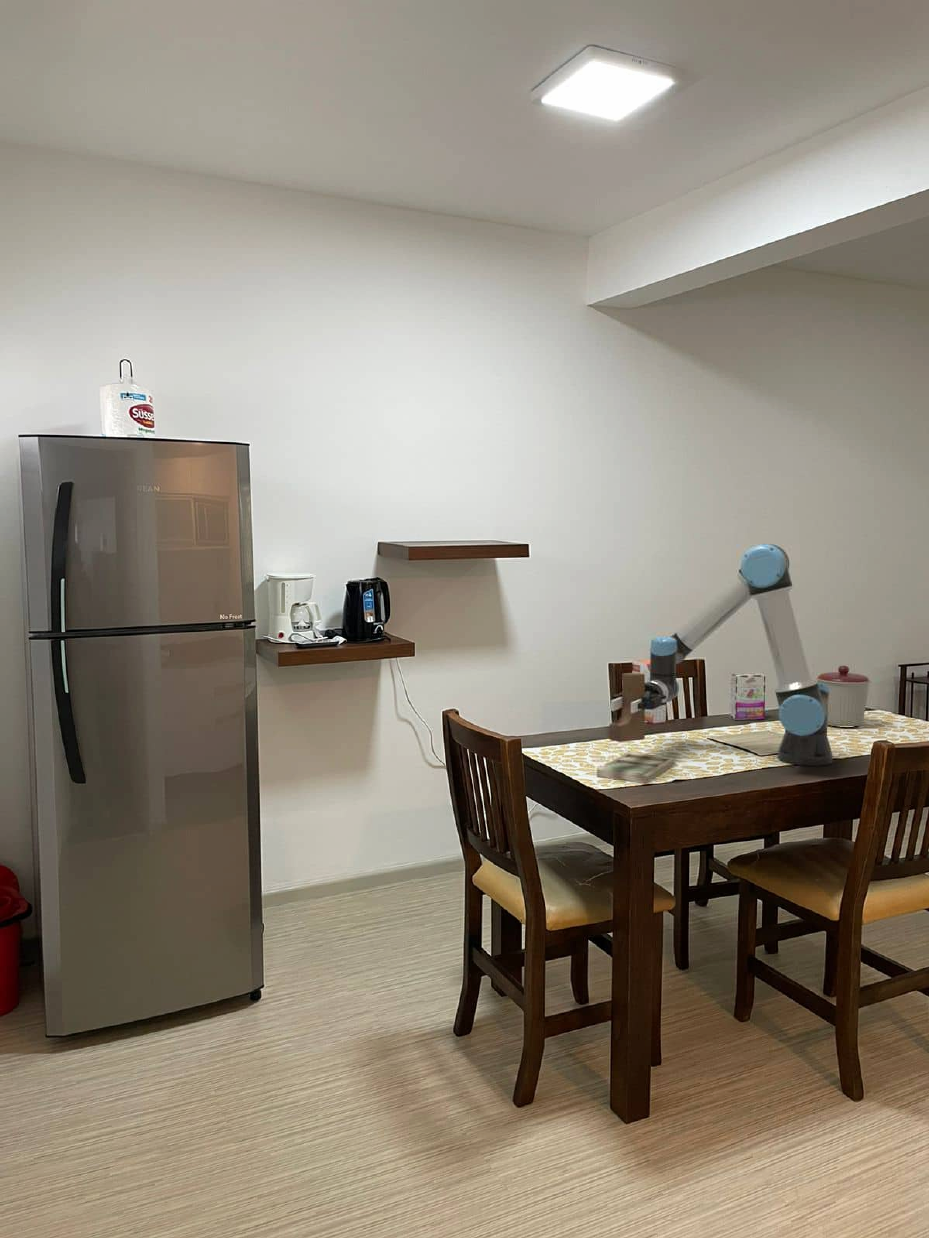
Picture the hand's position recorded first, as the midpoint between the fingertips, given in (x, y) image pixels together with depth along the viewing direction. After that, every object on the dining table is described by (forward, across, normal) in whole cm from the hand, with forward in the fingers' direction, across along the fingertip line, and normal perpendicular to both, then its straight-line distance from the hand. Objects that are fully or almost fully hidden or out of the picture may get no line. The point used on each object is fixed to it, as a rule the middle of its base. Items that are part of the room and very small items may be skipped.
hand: (622, 706), depth 252 cm
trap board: (-12, 0, -20) cm, 23 cm away
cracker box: (-85, +22, -20) cm, 90 cm away
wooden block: (-5, 0, -10) cm, 11 cm away
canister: (-111, -39, -20) cm, 120 cm away
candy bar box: (-105, -8, -20) cm, 107 cm away
